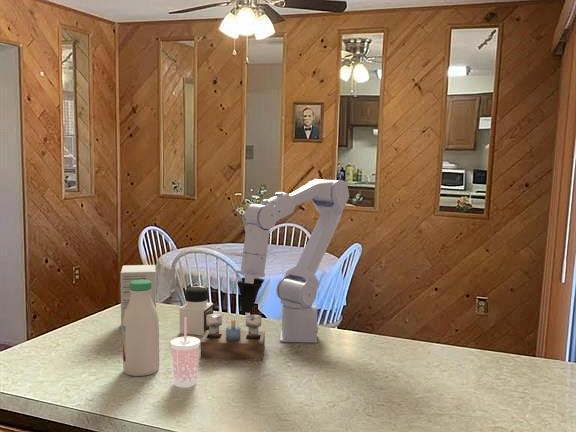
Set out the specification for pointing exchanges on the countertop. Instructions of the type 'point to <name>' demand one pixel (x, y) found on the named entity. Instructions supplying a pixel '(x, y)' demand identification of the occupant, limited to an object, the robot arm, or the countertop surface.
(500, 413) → the countertop surface
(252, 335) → the knob
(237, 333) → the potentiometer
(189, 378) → the beverage cup
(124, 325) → the milk bottle
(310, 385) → the countertop surface
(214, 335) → the knob
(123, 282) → the supplement box
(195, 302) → the medicine bottle
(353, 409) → the countertop surface
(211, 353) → the mount
